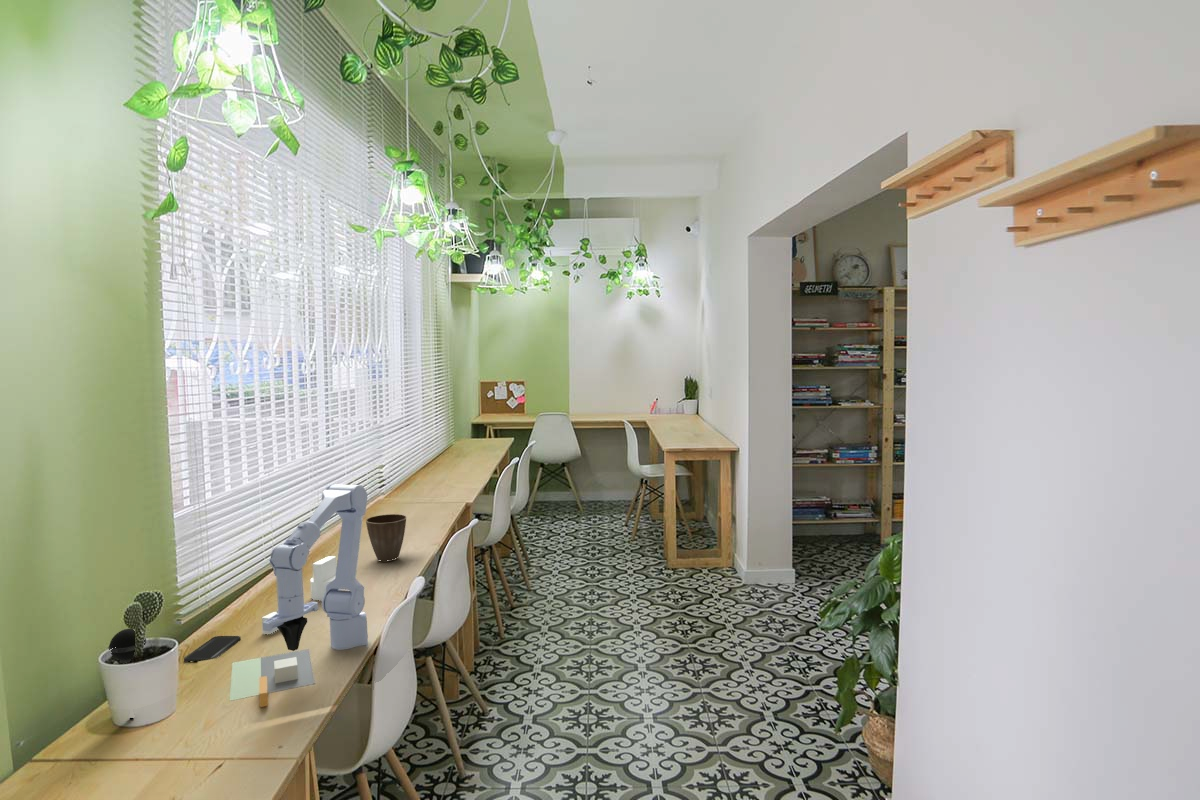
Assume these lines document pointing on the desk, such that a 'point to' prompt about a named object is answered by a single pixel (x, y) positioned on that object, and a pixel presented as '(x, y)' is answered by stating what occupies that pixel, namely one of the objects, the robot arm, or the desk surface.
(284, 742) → the desk surface
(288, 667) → the plug block
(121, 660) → the black bowler hat
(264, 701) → the bar
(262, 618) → the napkin holder
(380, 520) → the plant pot
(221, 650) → the phone
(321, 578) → the cylinder with rectangular tab
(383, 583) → the desk surface
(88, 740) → the desk surface
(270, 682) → the green and grey board
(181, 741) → the desk surface
